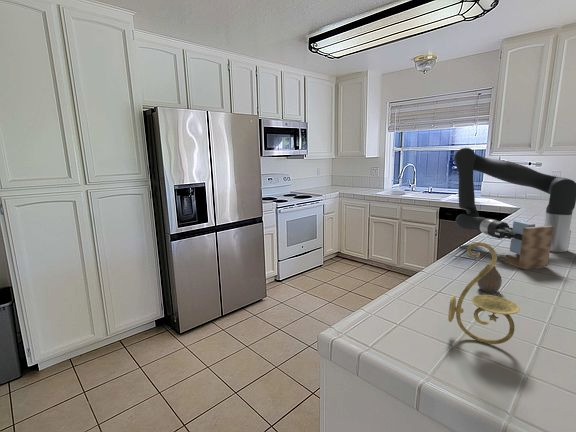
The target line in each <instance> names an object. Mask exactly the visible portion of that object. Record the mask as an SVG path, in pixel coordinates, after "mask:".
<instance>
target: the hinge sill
mask: <svg viewBox="0 0 576 432" xmlns="http://www.w3.org/2000/svg"><path fill="white" fill-rule="evenodd" d="M552 232H553V227H552V226H544V225H543V226H535V227H527V228H523V235H522V243H521V251H520V255H519V254H516V253H515V256H512V255H509V254H505V256H504V258H503V257H502V258H499V261H501V262H504V263H507V264H509V265H511V266H515V267H517V268H519V269H522V270H535V269H545V267H549V259H550V252H551V251H550V246H551V239H552Z"/></svg>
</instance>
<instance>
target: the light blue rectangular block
mask: <svg viewBox="0 0 576 432" xmlns="http://www.w3.org/2000/svg"><path fill="white" fill-rule="evenodd" d="M527 227H536V224H535V223H531V222H527V221H522V220H513V222H512V228H513V229H512V231H513V232H515V233H517V234H521V235H523V228H527ZM521 243H522V241H521V240H518V239H512V238H511V239H510V245H509V252H511V253H514V254H515V255H516V254H519V255H520V251H521Z"/></svg>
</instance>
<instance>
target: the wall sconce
mask: <svg viewBox="0 0 576 432" xmlns="http://www.w3.org/2000/svg"><path fill="white" fill-rule="evenodd" d="M474 247H475V248H476V247H484V248H485V249H487V250H488V251H489V252H490V253H491V261H490V263H489V264H488V265H489V266H488V267H487V268H486V269H485V270H484V271H482V272H481V273H480V274H479V273H478V274H479V275H476V276H475V277H474V278H473V279H472V280H471V281H470V282H469V283H467V285H466V286H465V288H464V289H463V290H462V292H461V293H460V295H459V298H458V301H457V299H456V298H457V297H456V295H455V294H453V295H451V298H450V302H449V307H448V316H447V317H448V318H447V319H448V322H449V323H450V322H453V320H454V318H455V317H456V322H457V325H458V326H459V328H460V329H461V330H462V331H463V333H464V334H465V335H467V336H468V337H470V338H471V339H473V340H475V341H477V342H479V343H480V342H481V343H483V342H484V344H488V345H490V344H491V345H498V344H499V345H500V344H503V343H506V342H508V341H509V340H510V339H512V337H513V336H514V333H515V322H514V319H513V317H512V316H511V315H515V314H517V313H519V311H520V306H519V305H518V304H517V303H516V302H514V301H512V300H510V299H508V298H505V297H502V296H497V295H491V294H480V295H479V294H478V295H474V296H472V298H471V302H472V304H474V306H476V307H477V308H476V309H474V312H473V318H474V320H475V322H477V323H478V324H479V325H482V326H483V325H484V326H488V325H489V324H490V322H488V321H487V320H482V319H480V318H479V313H480V312H484V311H486V312H489V313H492V314H488V315H487V316H488V318H489V321H494V322H495V323H497V319H499V318H500V317H498V316H496V314H498V315H503V316H505V318H506V320H507V321H508V325H509V330H508V333H507V334H506V335H505V336H504V337H502V338H499V339H486V338H483V337H479V336H478V335H475V334H473V333H472V332H471V331H469V330H468V329H467V328H466V327H465V326H464V324H463V321H462V319H461V318H462V317H461V314H463V313H464V310H465V309H464V308H463V307H462V304H463V301H464V299H465V298H466V295H467V294H468V292H469V290H471V289H472V287H473V286H475V284H476V283H477V281H479V280H480V279H481V278H482V277H483V276H485V275H486V274H487V273H488V272H489V271H490V270H491V269H492V268H493V267H494V266H495V265H496V264H497V260H498V257H497V252H496V250H495V249H494V247H492V246H491V245H490V244H488V243H486V242H481V241H475V242H472V243H471V244H470V245H468V246H467V249H466V253H467V255H468V256H469V257H471V258H477V257H479V256H480V255H481V254H480V252H477V253H473V252H472V249H473V248H474ZM495 267H496V266H495Z"/></svg>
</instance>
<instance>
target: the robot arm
mask: <svg viewBox="0 0 576 432" xmlns="http://www.w3.org/2000/svg"><path fill="white" fill-rule="evenodd" d="M453 162H454V164H455V166H456V167H457V171H458V172H457V173H458V193H457V194H458V206H459V208H460V209H462V210H465V211H466V213H461V214H459V215H457V216H456V218H455V223H456V226H457V227H459V228H460V229H463V230H470V231H476V232H478V233H479V232H480V233H482V234H484V235H487V236H490V237H492V238H495V239H499V240H502V239H506V240H507V239H509V240H511V238H512V239H518V240H521V241H522V235H521V234H517V233H515V232H513V231H512V229H513V226H512V227H511V226H509V224H508V223H507V222H505V221H500V220H497V219H493V218H487V217H483V216H480V215H479V212H478V210H477V207H476V201H475V200H476V199H475V198H476V196H475V195H476V194H475V185H474V171H475V172H480V173H482V174H484V175H487V176H490V177H492V178H495V179H498V180H500V181H503V182H506V183H508V184H509V183H510V184H513V185H517V186H522V187H523V186H524V187H529V188H533V189H536V190H539V191H542V192H544V193H546V194H548V195H549V198H548V200H549V201H548V204H547V206H546V208H545V209H546V210H545V217H544V224H543V226H552V227H553V232H552V239H551V246H550V252H556V253H566V252H567V251H569V248H570V243H571V242H570V241H571V234H572V230H571V223H572V218H573V211H574V210H575V208H576V182H575V181H574V180H572V179H571V178H566V177H560V176H554V175H550V174H546V173H543V172H539V171H537V170H535V169H534V168H530V167H527V166H525V165H523V164H519V163H516V162H512V161H510V160H509V161H508V160H504V159H503V160H502V159H496V158H488V157H485V156H482V155H479V154H477V153H476V152H475V151H474V150H473V148H470V147H462V148H460V149H458V150H457V151H456V152H455V154H454V157H453Z"/></svg>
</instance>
